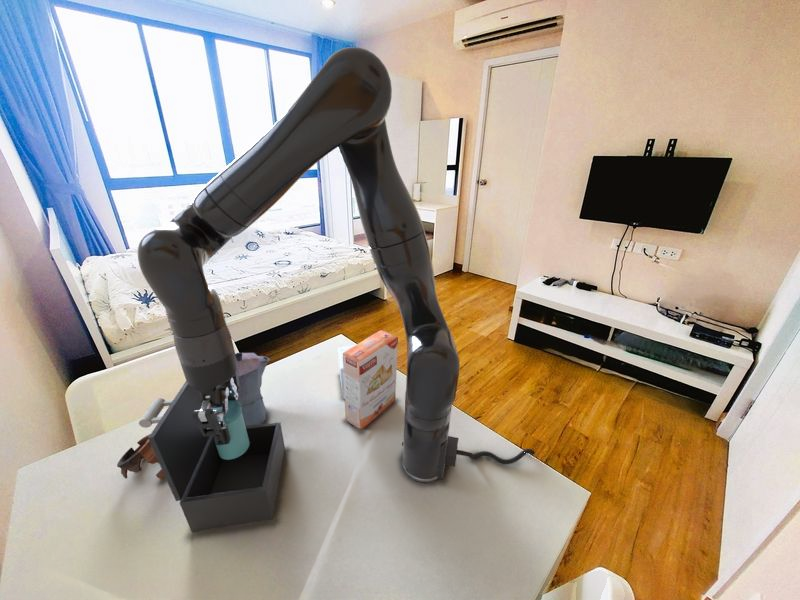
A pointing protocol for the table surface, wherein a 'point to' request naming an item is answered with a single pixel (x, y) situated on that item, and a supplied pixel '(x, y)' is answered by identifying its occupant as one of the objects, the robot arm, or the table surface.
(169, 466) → the lid
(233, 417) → the container
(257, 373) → the moka pot
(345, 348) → the cosmetics box
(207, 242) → the robot arm
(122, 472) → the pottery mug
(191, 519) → the open box
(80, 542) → the table surface
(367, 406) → the cracker box
